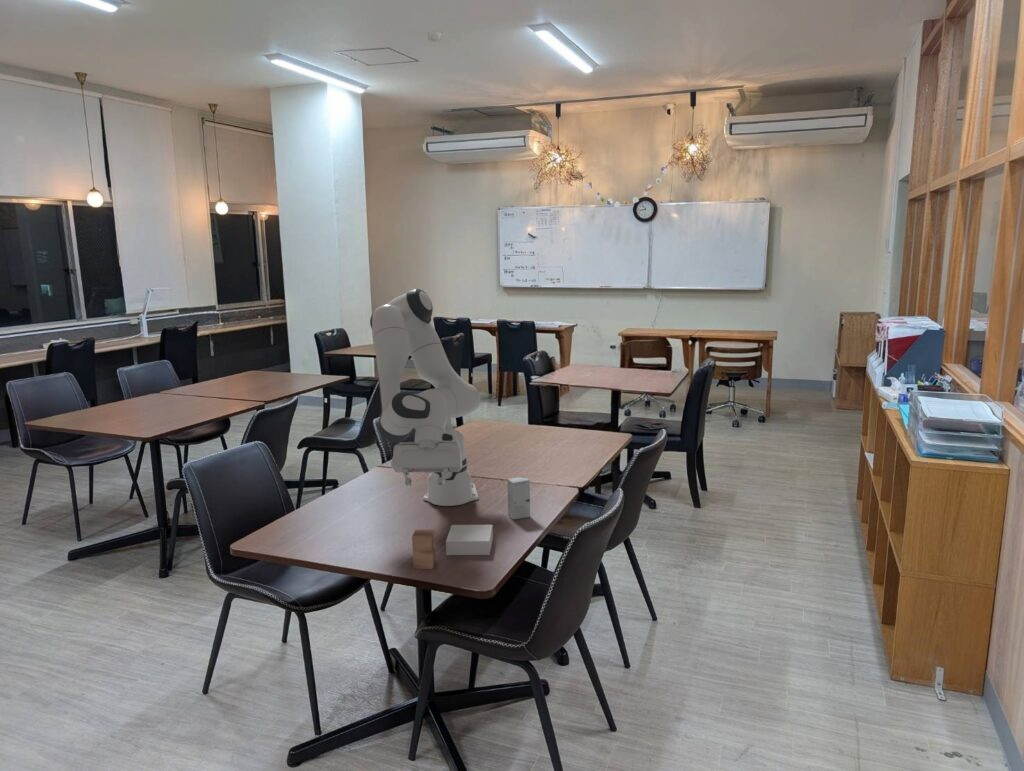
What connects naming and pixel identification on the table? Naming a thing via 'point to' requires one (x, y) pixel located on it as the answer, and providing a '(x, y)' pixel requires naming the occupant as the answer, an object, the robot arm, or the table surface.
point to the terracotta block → (423, 549)
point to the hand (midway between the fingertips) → (424, 484)
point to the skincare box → (518, 498)
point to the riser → (469, 540)
